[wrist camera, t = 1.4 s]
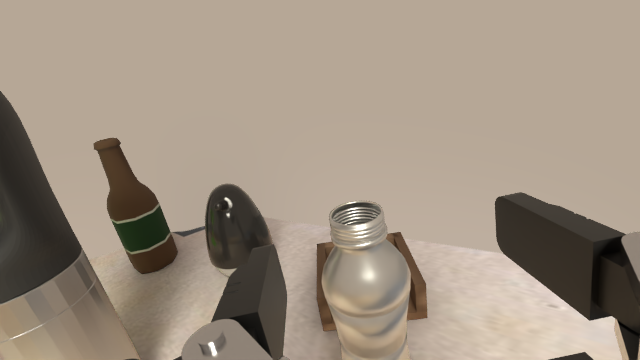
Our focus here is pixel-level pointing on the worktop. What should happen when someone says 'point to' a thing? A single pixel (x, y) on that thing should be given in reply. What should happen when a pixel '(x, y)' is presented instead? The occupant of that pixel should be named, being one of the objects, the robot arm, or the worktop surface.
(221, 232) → the black egg-shaped dispenser
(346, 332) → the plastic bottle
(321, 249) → the u rest
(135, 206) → the beer bottle
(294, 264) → the worktop surface
